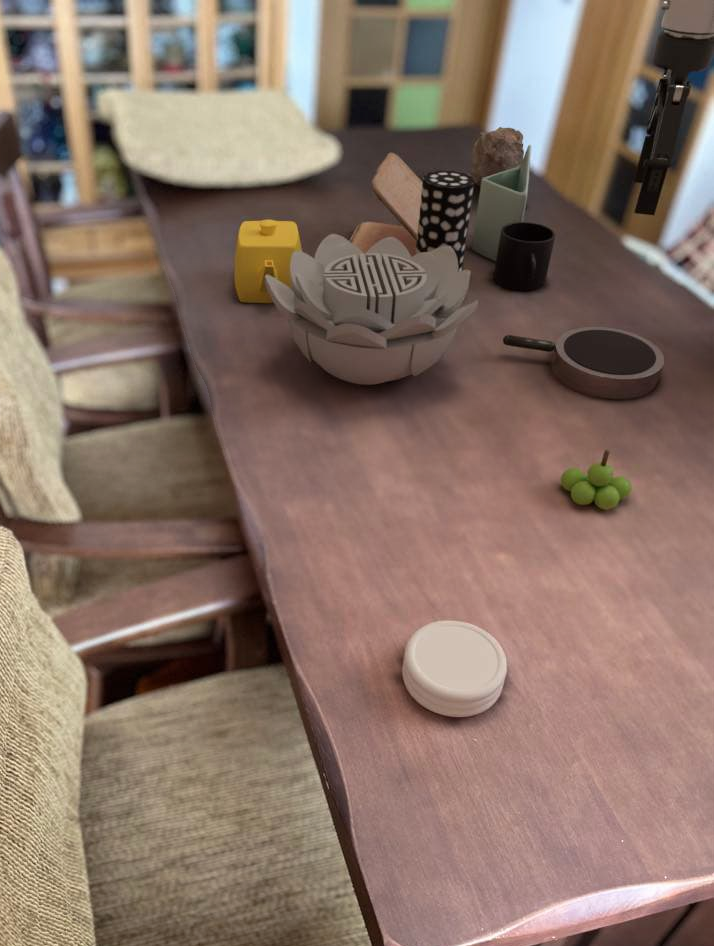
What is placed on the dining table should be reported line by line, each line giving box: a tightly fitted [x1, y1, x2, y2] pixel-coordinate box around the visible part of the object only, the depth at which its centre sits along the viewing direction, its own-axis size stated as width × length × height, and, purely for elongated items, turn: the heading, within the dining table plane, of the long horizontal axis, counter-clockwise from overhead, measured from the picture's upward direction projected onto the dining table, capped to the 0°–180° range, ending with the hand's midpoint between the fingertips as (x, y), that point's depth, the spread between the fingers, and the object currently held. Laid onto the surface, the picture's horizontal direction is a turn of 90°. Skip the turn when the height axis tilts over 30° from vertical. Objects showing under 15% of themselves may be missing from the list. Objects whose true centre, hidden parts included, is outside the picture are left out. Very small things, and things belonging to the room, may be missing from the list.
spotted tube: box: [415, 169, 475, 272], centre depth 140 cm, size 8×8×20 cm
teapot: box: [233, 218, 303, 304], centre depth 144 cm, size 20×12×12 cm, turn 1°
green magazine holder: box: [471, 144, 532, 263], centre depth 155 cm, size 16×8×20 cm, turn 172°
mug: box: [493, 221, 556, 292], centre depth 148 cm, size 9×12×9 cm
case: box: [348, 152, 423, 257], centre depth 155 cm, size 20×21×16 cm
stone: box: [470, 127, 532, 188], centre depth 180 cm, size 22×10×15 cm, turn 8°
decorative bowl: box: [265, 233, 479, 386], centre depth 123 cm, size 30×30×15 cm
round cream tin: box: [401, 619, 508, 718], centre depth 81 cm, size 10×10×4 cm
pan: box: [502, 326, 665, 400], centre depth 127 cm, size 24×16×4 cm, turn 73°
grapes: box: [560, 449, 633, 511], centre depth 101 cm, size 9×5×8 cm, turn 73°
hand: (643, 197), depth 123 cm, fingers open, 13 cm apart
